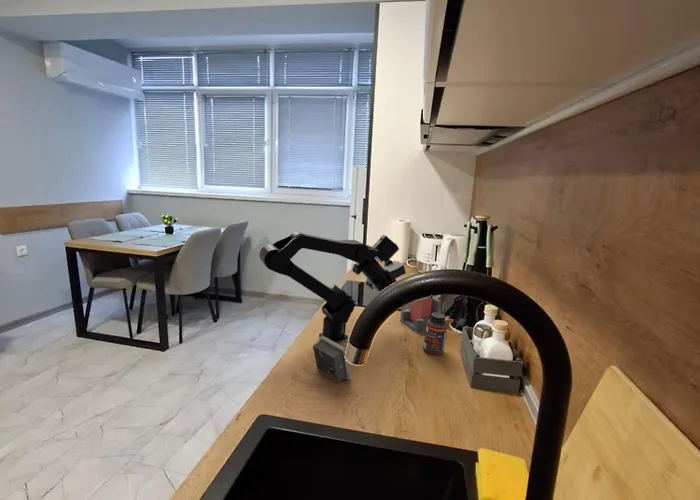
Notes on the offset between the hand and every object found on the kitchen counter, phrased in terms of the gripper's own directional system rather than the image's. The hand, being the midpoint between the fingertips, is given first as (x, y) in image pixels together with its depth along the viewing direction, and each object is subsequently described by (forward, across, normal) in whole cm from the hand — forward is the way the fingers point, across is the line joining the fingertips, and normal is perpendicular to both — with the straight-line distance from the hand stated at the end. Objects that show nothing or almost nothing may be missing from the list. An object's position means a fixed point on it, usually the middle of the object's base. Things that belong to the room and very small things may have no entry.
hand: (400, 303), depth 124 cm
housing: (+12, 0, 0) cm, 12 cm away
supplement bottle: (+7, -17, +5) cm, 19 cm away
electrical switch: (-16, -20, +30) cm, 39 cm away
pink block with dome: (+11, 0, -1) cm, 11 cm away
